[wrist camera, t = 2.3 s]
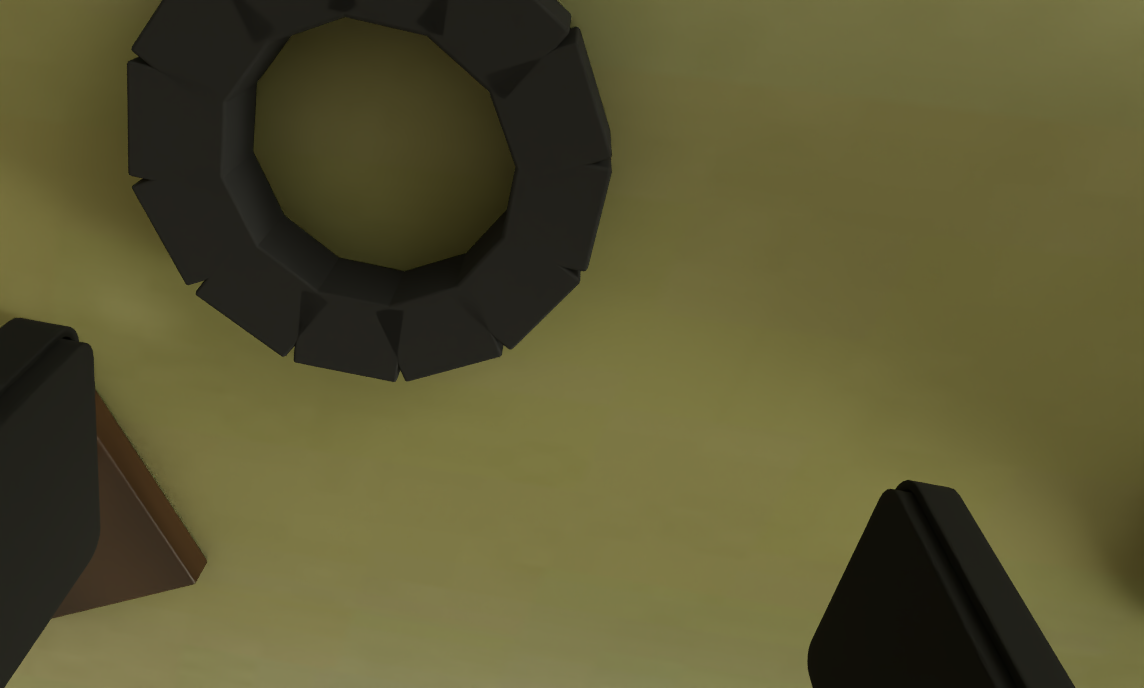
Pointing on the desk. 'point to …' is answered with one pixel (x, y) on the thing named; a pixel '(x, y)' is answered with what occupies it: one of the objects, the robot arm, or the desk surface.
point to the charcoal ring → (303, 265)
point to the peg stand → (131, 531)
